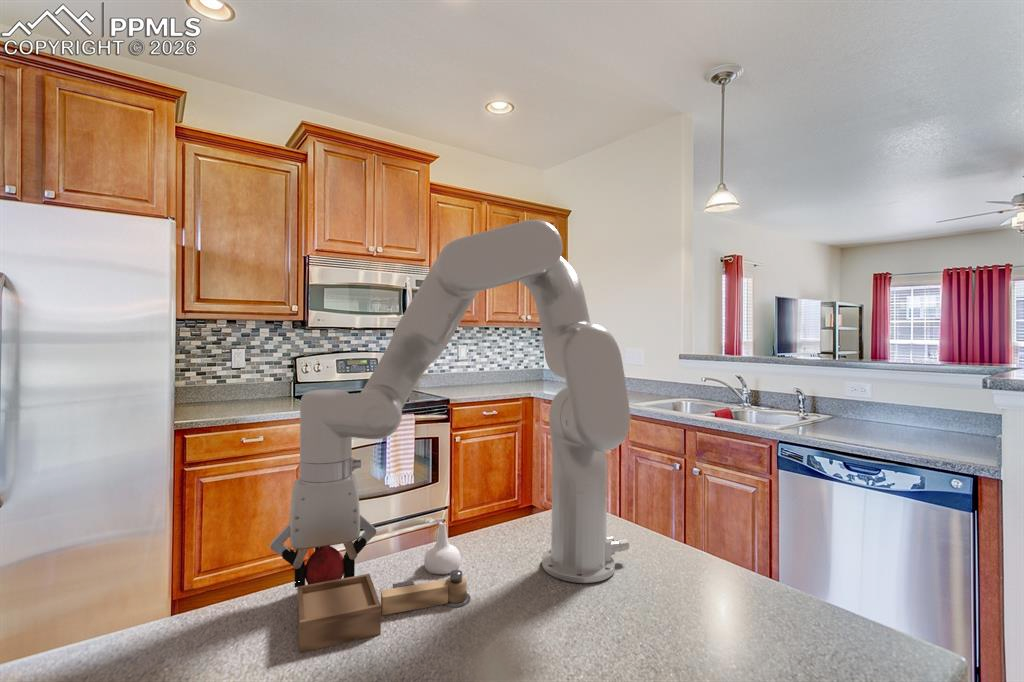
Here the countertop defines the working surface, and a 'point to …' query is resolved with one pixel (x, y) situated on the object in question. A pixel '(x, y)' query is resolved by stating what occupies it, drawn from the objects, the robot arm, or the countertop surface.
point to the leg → (422, 595)
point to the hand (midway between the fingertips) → (324, 585)
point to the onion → (324, 565)
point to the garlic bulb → (442, 554)
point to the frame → (454, 578)
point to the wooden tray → (337, 612)
